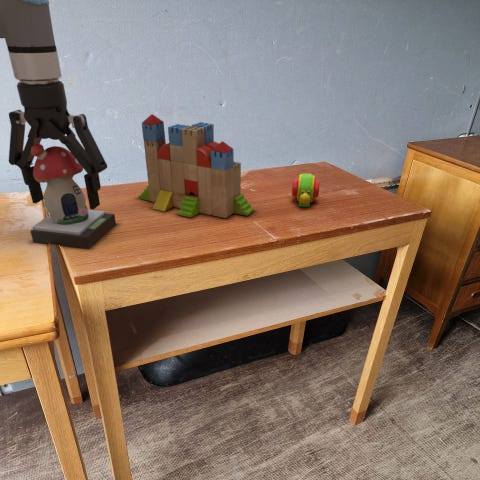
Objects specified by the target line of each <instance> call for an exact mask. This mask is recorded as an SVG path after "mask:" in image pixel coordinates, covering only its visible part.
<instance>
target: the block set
mask: <svg viewBox="0 0 480 480" xmlns="http://www.w3.org/2000/svg"><path fill="white" fill-rule="evenodd" d="M214 127H215V125H214V123H212V122H211V123H210V122H202V121H199V122H196V123H193V124H191V125H188V124H187V125H185V124H180V123H176V124H174V125H173V124H172V125H169V126H168V127H167V133H168V134H167V135H168V143H167V141H166V132H165V122H164V120H162V119H160V118H159V117H158V116H156V115H155V114H153V113H151V114H149V116H148V117H146V118H145V119H144V120H143V121H142V122H141V130H142V131H141V132H142V137H143V138H142V139H143V148H144V158H145V165H146V175H147V176H146V177H147V184H148V185H147V186H146V187H145V188H144V189H143V191H142V192H141V193H140V194H138V199H139V200H144V201H147V202H152V203H154V204H153V206H152V209H153V210H157V211H160V212H166V211H169V210H170V209H171V208H173V207H174V208H178V209H179V210H178V211H177V215H178V216H182V217H185V218H192V217H194V216H196V215H198V214H199V213H200V214H204V215H209V216H214V217H218V218H222V219H227V218H229V217H230V216H232V215H233V214H237V215H241V216H249V215H250V214H252V213H253V212H254V211H255V207H254V206H252V204H251V203H250V202H248V198H245V194H244V193H241V192H242V191H241V187H242V186H241V185H242V162H240V161H234V159H235V156H234V154H235V153H234V152H235V150H234V148H233V147H232V146H230V145H229V144H228V143H227V142H225V141H220V143H219V142H217V141H215V137H214V136H215V133H214V130H215V128H214Z"/></svg>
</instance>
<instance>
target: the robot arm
mask: <svg viewBox="0 0 480 480" xmlns="http://www.w3.org/2000/svg"><path fill="white" fill-rule="evenodd" d="M51 16H52V15H51V11H50V1H49V0H0V39H4V40H5V44H6V47H7V52H8V56H9V60H10V61H9V62H10V64H11V65H10V66H11V69H12V73H13V77H14V79H16V80H18V81H19V82H17V84H16V88H17V89H16V90H17V92H18V97H19V101H20V105H21V106H22V107H23V108H24V111H23V110H22V109H16V110H13V111H9V112H8V118H9V123H10V135H9V136H10V137H9V151H8V163H9V165H11V166H16V167H18V168H19V170H20V171H21V175H22V179H23V182H24V184H25V186H28V190H29V194H30V197H31V198H30V199H31V201H32V202H31V203H32V204H38V203H40V202H41V201H44V194H43V190H42V186H41V182H38V181H36V180H35V179H34V176H33V169H34V163H33V162H34V159H35V157H36V156H33V155H32V154H31V148H32V146H33V145H35V144H41V141H42V140H47V139H50V140H55V141H59V142H60V143H61V144H63V146H65V147H66V149H67V150H68V151H70V152H71V153H72V154H73V156H74V157H75V158H76V160H77V161H78V162H79V163H80V165H81V166H82V167H83V171H85V172H86V174H84V175H83V179H84V184H85V188H86V189H85V190H86V194H87V200H88V205H89V210H95V209H96V208H98V207H99V206H100V205H101V203H100V202H101V201H100V196H99V191H100V190H101V187H102V186H101V185H102V184H101V179H100V173H102V172H103V171H105V170H106V169H108V164H107V162H106V160H105V158H104V156H103V154H102V152H101V150H100V148H99V146H98V144H97V141H96V140H95V138H94V136H93V134H92V133H91V131H90V128H89V125H88V119H87V116H86V115H85V113H80V114H77V115H76V114H75V115H73V114H70V113H69V110H68V100H67V99H68V98H67V95H66V89H65V83H63V82H62V81H61V80H60V79H62V77H63V75H62V69H61V64H60V59H59V54H58V51H57V45H56V41H55V36H54V30H53V23H52V17H51ZM26 123H27V124H28V125H29V126H30V129H29V132H28V134H27V140H26V143H25V136H26V135H25V134H26ZM70 125H71V127H72V128H73V129H74V130H75V133H76V134H75V133H74V132H73V131H74V130H72V129H71V128H70ZM76 135H77V137H78V139H77V138H76ZM24 144H25V145H24Z"/></svg>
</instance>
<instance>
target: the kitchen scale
mask: <svg viewBox="0 0 480 480" xmlns="http://www.w3.org/2000/svg"><path fill="white" fill-rule="evenodd" d="M116 225H117V222H116V216H115V213H110V212H109V213H108V212H106V211H105V210H97V209H96V210H95V209H94V210H93V209H88V218H87V219H85V220H84V221H82V222H78V223H74V224H58V223H56V222H54V221H53V220H52V218H51V216H50V214H48V216H46V217H45V218H43V219H42V220H41V221H38V223H36V224H34V225H33V226H31V228H32V229H31V230H30V235H31V238H32V241H33V243H38V244H46V245H55V246H62V247H63V246H64V247H70V248H71V247H73V248H81V249H91V248H92V247H93V246H94V245H95V244H96V243H97V242H98V241H99V240H101V239H102V238H103V237H104V236H105V235H106V234H107V233H108V232H109V231H111V230H112V229H113V228H114V227H116Z"/></svg>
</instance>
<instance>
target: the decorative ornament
mask: <svg viewBox="0 0 480 480" xmlns="http://www.w3.org/2000/svg"><path fill="white" fill-rule="evenodd" d="M31 154H32V155H33V156H35V157H36V159H35V162H34V164H33V166H34V169H33V176H34V179H35V180H36V181H38V182H40V184H43V183H46V187H45V190H44V194H43V197H44V199H43V204H44V207H45V209H46V212H47V213H48V215H50V216H51V218H52V220H53V221H54V222H56V223H58V224H74V223H78V222H82V221H84V220H85V219H87V218H88V210H89V209H88V207H87V204H86V203H87V201H86V196H85V193H84V191H83V189H82V188H81V187H80V186H79V185H78V183H77V182H76V181H75V180H74V176H76V175H78V174H81V173H82V172H83V171H84V168H83V167H82V166H81V165H80V163H79V162H78V161H77V160H76V158H75V157H74V156H73V154H72V153H71V152H70V151H69V149H68V148H64V147H62V146H57V145H53V146H49V147H46V148H44V145H42V144H41V143H40V144H35V145H33V146H32V148H31Z"/></svg>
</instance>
